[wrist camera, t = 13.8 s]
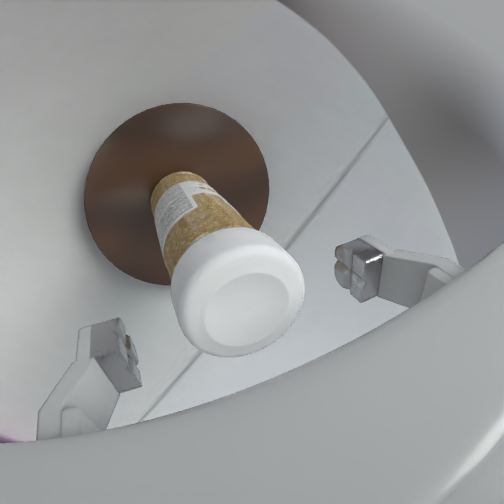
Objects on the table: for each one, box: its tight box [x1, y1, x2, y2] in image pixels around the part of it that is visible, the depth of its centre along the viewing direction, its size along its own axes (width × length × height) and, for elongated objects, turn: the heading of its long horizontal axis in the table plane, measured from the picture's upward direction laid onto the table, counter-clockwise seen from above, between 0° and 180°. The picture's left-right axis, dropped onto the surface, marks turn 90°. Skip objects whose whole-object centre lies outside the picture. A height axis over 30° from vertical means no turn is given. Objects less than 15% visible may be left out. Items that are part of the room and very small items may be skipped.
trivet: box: [84, 103, 269, 285], centre depth 21 cm, size 14×14×2 cm
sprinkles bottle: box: [151, 171, 305, 357], centre depth 15 cm, size 5×5×14 cm
